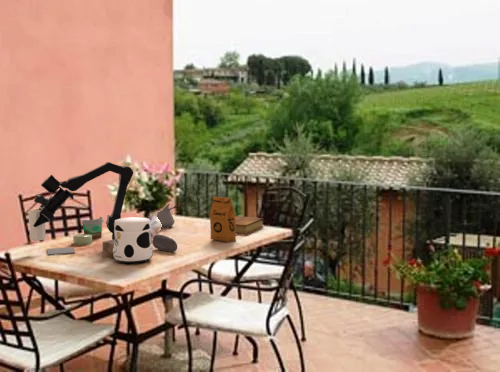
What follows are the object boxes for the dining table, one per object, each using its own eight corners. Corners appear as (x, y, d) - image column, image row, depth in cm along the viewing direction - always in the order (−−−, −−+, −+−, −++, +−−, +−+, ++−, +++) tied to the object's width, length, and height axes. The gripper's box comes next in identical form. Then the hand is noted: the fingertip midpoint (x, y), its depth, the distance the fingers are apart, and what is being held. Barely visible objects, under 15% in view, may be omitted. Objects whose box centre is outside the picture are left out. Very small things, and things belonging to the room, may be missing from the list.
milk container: (105, 260, 279) (104, 220, 277) (138, 254, 291) (137, 215, 289) (127, 267, 267) (126, 225, 265) (161, 260, 279) (160, 220, 277)
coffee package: (226, 243, 313) (225, 199, 310) (207, 240, 321) (207, 197, 318) (239, 240, 321) (239, 197, 318) (220, 237, 328) (220, 195, 326)
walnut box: (122, 256, 288) (121, 241, 287) (111, 258, 283) (111, 243, 282) (113, 254, 292) (113, 239, 291) (103, 257, 287) (102, 241, 286)
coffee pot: (149, 227, 357) (149, 200, 356) (163, 224, 367) (162, 198, 365) (179, 231, 346) (178, 203, 344) (192, 227, 355) (192, 201, 353)
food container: (90, 240, 322) (89, 221, 321) (82, 239, 326) (81, 220, 324) (109, 236, 332) (108, 217, 330) (101, 235, 335) (100, 216, 334)
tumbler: (47, 239, 293) (45, 211, 291) (33, 241, 289) (31, 213, 288) (42, 237, 298) (41, 209, 296) (28, 239, 294) (27, 211, 293)
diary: (233, 225, 364) (233, 215, 363) (263, 228, 356) (263, 217, 356) (214, 232, 343) (214, 222, 343) (246, 235, 336) (246, 224, 335)
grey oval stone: (180, 252, 295) (180, 237, 294) (172, 254, 292) (171, 239, 291) (160, 247, 306) (160, 233, 305) (151, 249, 302) (151, 234, 301)
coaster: (73, 248, 305) (73, 246, 305) (75, 253, 294) (75, 252, 294) (47, 250, 301) (47, 248, 301) (47, 255, 290) (47, 254, 290)
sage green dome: (95, 243, 315) (94, 235, 315) (77, 246, 310) (77, 238, 310) (88, 240, 323) (87, 233, 322) (70, 243, 317) (70, 235, 317)
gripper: (43, 186, 301) (20, 210, 299) (44, 190, 283) (19, 217, 281) (62, 201, 304) (39, 226, 302) (64, 207, 287) (39, 233, 285)
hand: (34, 225), depth 292 cm, fingers closed on tumbler, 7 cm apart
